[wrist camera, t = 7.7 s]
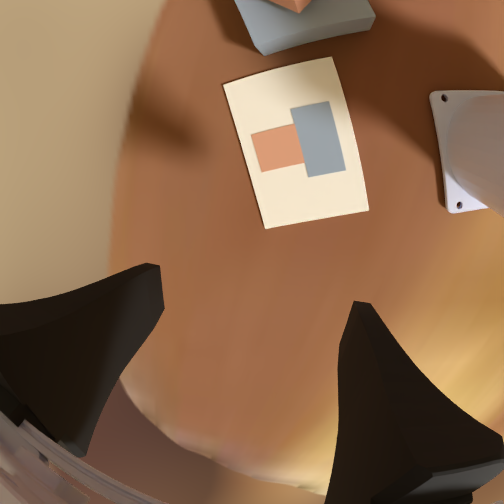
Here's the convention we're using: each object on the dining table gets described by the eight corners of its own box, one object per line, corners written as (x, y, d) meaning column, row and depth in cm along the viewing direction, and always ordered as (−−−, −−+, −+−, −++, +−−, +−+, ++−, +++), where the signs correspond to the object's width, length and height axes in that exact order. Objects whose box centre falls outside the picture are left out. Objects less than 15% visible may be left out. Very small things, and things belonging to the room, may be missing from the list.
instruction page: (331, 57, 14) (331, 56, 14) (368, 209, 17) (369, 210, 17) (224, 85, 16) (222, 84, 16) (265, 227, 20) (265, 229, 19)
